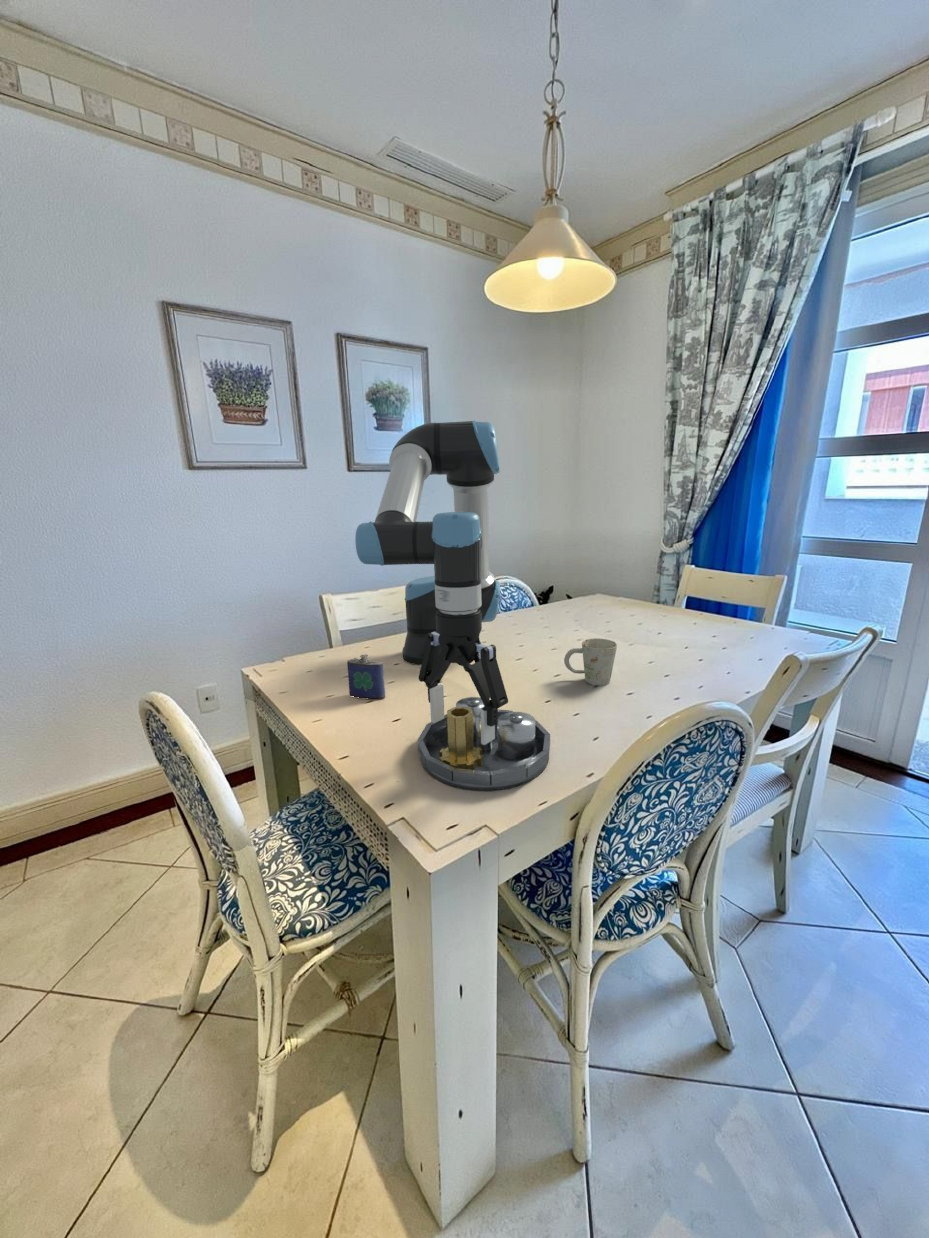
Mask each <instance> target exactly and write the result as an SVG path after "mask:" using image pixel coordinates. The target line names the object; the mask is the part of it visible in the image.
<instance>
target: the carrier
mask: <svg viewBox="0 0 929 1238" xmlns="http://www.w3.org/2000/svg"><path fill="white" fill-rule="evenodd" d="M483 706H484V704H483V702H482V700H481V698H480V696H479V697H478V696H469V697H464V698H461V699H459V700H458V701H456V703H455V707H467V708H470V709H472V711H473V745H474V747H476V748H477V747H480V748H481V749H482V755H483V764H482V766H481V767H480V766H477V767H476V768H474V770H468V769H458V768H454V767H452V766H450V765H448V764H446V763H444V762H442V761H440V760H439V757H440V756H439V752H440V750H441V749H446V748H448V726H447V713H446V714H444V719H442V720H440V721H438V722H436V723H432V722H431V721H430V722H428V723H427V724H426V725H425V727H424V728H423V730H422V731H421V733H420V735H419V736H418V738H417V740H416V742H417V743H416V744H417V745H416V746H417V752H418V754H419V757H420V759H419V761H420V763H421V766H422V767H423V769H424V771H426V773H427V775H429V776H430V777H432V778H433V779H435V780H437V781H438V782H440V783H442V784H444V785H447V786H449V787H453V788H456V789H461V790H466V791H476V792H477V791H478V792H494V791H495V792H496V791H503V790H508V789H512V788H517V787H520V786H522V785H526V784H527V783H530V782H531V781H533V780H534V779H536V778H537V777H539V776H540V775H541V774H542V773H543V772H544V771H545V770H546V768H547V766H548V764H549V761H550V751H551V748H550V747H551V733H550V732H548V730H547V729H546V728H544V726H543V725H542V724H541V723H539V721H538V720H537V719H536V718H535V717H534V716H533V715H532V714H530V713H527V712H522V711H513V710H509V709H499V708H498V722H497V724H495V739H494V740H492V741H490V742H489V743H487V744H485V745H483V744H481V707H483Z"/></svg>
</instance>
